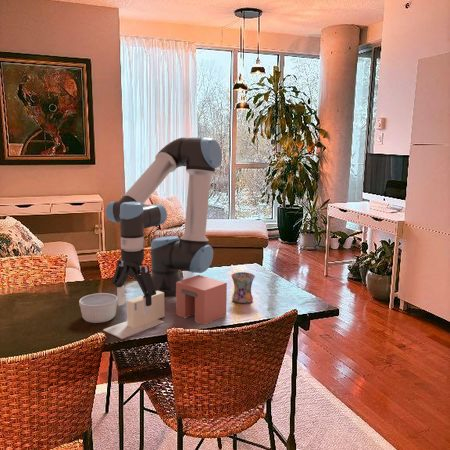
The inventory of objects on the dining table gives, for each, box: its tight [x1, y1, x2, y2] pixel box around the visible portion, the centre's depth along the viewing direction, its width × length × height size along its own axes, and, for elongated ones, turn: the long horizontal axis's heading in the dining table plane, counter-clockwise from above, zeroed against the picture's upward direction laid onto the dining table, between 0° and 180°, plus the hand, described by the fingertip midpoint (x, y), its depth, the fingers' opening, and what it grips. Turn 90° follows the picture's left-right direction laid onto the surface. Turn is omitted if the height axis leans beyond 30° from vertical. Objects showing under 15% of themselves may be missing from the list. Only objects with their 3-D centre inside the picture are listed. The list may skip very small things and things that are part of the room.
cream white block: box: [126, 291, 166, 328], centre depth 157 cm, size 4×14×9 cm, turn 140°
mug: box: [230, 271, 256, 304], centre depth 181 cm, size 12×9×11 cm
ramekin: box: [78, 292, 118, 324], centre depth 161 cm, size 13×13×7 cm
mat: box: [103, 319, 165, 340], centre depth 154 cm, size 10×18×1 cm, turn 140°
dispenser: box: [175, 274, 228, 326], centre depth 164 cm, size 14×13×12 cm
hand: (133, 309), depth 153 cm, fingers open, 13 cm apart
